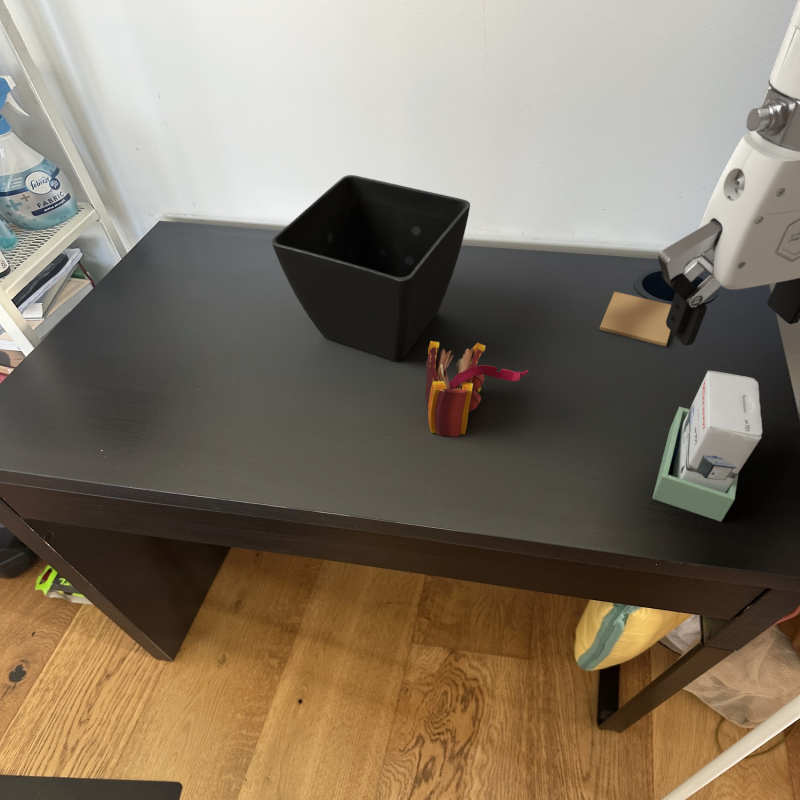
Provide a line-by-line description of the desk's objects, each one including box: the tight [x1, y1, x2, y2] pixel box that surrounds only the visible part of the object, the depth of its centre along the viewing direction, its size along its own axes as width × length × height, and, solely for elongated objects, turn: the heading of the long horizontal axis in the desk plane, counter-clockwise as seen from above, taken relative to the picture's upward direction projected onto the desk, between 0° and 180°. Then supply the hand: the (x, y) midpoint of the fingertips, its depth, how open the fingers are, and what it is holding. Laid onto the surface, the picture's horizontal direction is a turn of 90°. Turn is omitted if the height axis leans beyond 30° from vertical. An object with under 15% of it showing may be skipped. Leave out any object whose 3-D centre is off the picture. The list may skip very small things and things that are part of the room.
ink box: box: [672, 370, 763, 493], centre depth 66 cm, size 9×5×12 cm, turn 162°
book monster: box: [425, 340, 529, 438], centre depth 73 cm, size 11×9×12 cm
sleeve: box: [652, 406, 739, 522], centre depth 68 cm, size 7×11×4 cm, turn 154°
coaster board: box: [599, 291, 672, 347], centre depth 89 cm, size 9×9×1 cm
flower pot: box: [271, 174, 471, 362], centre depth 84 cm, size 19×19×17 cm
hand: (730, 324), depth 53 cm, fingers open, 9 cm apart
